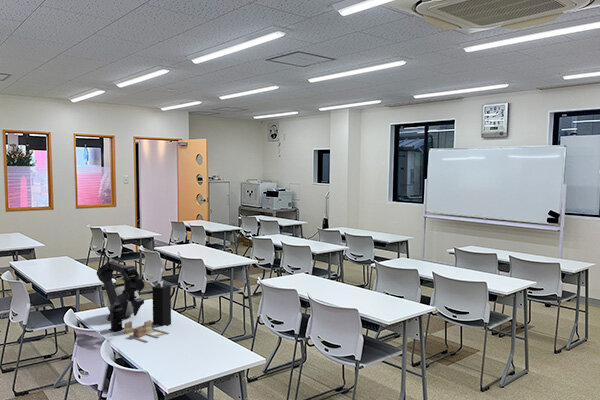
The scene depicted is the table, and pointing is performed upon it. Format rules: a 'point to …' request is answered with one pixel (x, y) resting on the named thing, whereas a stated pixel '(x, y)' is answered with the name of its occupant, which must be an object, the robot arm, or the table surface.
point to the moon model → (129, 307)
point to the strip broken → (149, 329)
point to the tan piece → (128, 328)
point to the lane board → (149, 335)
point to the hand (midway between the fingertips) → (129, 314)
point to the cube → (139, 332)
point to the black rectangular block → (162, 304)
